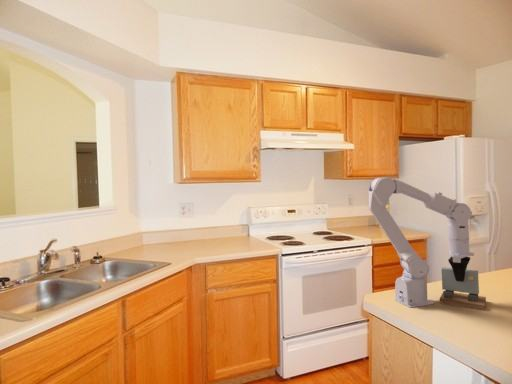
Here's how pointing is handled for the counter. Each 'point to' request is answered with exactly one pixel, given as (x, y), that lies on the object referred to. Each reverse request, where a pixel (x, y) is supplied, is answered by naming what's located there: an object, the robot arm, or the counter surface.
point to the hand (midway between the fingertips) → (460, 279)
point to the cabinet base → (464, 301)
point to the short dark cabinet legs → (449, 294)
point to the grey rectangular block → (466, 286)
